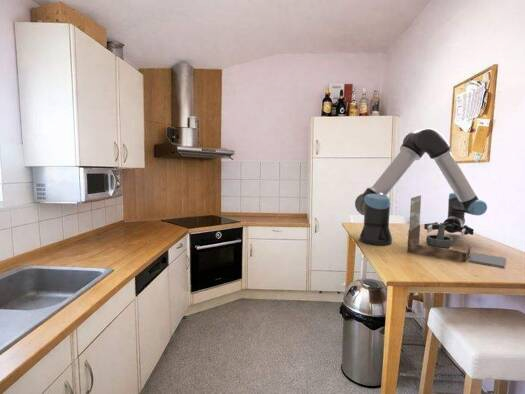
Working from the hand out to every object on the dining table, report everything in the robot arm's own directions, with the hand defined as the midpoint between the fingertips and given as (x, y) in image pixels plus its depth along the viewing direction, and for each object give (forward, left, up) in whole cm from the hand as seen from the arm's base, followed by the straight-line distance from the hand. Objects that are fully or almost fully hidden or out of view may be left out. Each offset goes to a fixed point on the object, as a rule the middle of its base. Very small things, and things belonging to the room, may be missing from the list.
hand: (444, 232), depth 136 cm
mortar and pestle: (0, -10, -8) cm, 13 cm away
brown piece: (0, -10, -7) cm, 12 cm away
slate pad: (+17, -10, -7) cm, 21 cm away
